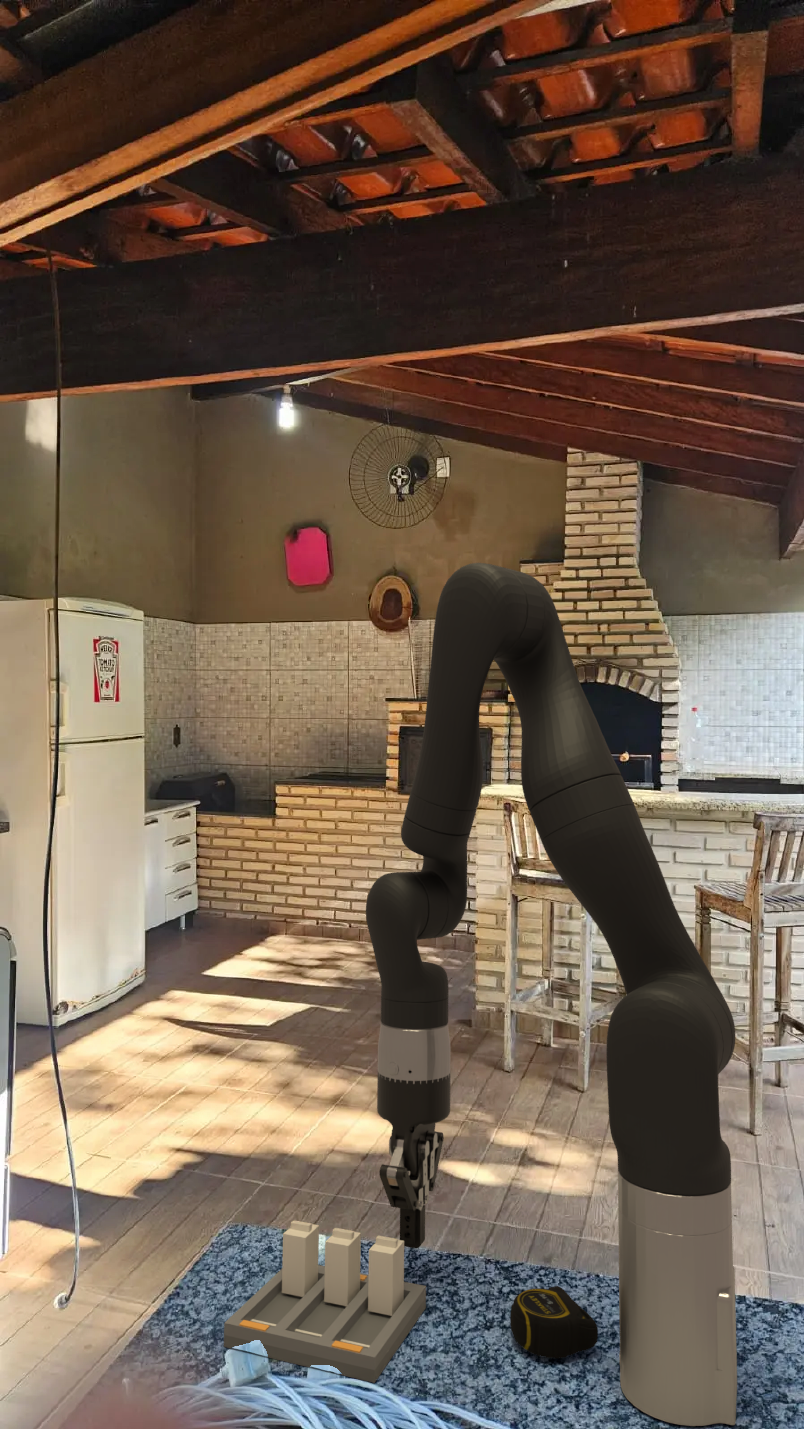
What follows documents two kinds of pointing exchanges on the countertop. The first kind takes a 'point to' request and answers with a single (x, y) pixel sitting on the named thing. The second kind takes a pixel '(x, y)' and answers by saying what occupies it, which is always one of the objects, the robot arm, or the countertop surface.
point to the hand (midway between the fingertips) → (412, 1244)
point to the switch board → (325, 1327)
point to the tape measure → (551, 1323)
